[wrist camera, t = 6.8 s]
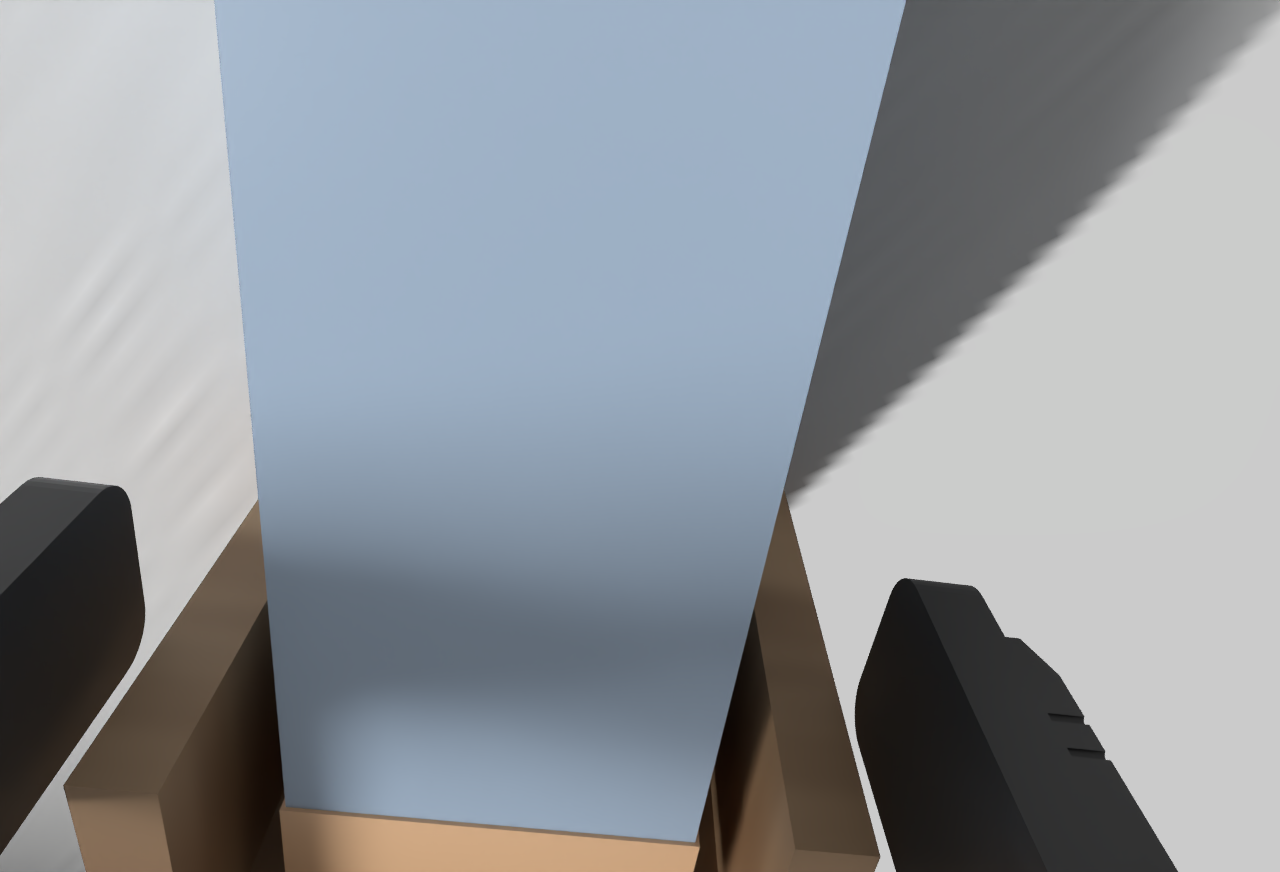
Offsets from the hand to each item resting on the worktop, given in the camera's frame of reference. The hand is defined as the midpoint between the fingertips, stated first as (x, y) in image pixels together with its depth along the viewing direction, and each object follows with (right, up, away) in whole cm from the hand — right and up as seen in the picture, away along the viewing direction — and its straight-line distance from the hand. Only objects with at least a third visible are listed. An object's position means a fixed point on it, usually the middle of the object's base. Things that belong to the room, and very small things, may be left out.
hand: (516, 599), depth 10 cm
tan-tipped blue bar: (+1, +6, +3) cm, 7 cm away
